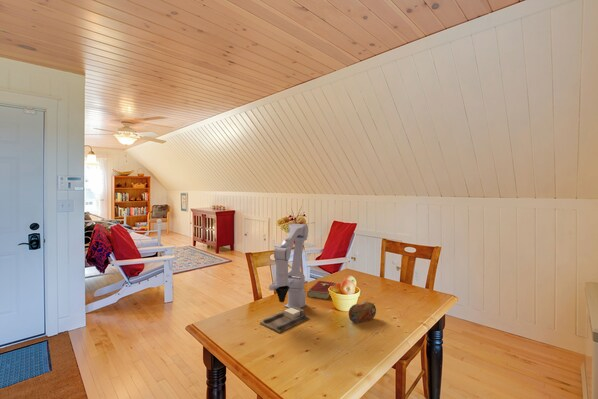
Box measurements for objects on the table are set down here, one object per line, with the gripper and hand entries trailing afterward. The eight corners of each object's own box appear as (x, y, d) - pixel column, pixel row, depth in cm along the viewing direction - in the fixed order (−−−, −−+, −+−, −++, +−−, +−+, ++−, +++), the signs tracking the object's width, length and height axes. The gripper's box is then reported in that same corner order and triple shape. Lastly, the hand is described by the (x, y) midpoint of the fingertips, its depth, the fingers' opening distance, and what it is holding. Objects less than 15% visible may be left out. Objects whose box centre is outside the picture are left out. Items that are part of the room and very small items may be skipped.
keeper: (291, 312, 146) (291, 307, 146) (300, 316, 142) (300, 310, 141) (284, 315, 142) (284, 310, 142) (293, 319, 138) (293, 314, 138)
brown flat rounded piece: (351, 325, 135) (351, 307, 135) (347, 322, 138) (347, 304, 138) (376, 319, 142) (376, 301, 142) (371, 316, 145) (372, 299, 145)
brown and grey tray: (290, 310, 150) (290, 303, 150) (309, 318, 141) (309, 310, 141) (259, 323, 135) (260, 315, 135) (279, 333, 127) (279, 324, 126)
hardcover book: (307, 297, 171) (307, 290, 171) (318, 286, 190) (318, 280, 190) (327, 300, 166) (327, 293, 166) (336, 288, 186) (336, 282, 186)
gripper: (286, 268, 146) (286, 295, 146) (264, 274, 135) (264, 303, 135) (297, 271, 141) (296, 299, 141) (275, 277, 130) (275, 307, 131)
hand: (281, 301), depth 138 cm, fingers closed
